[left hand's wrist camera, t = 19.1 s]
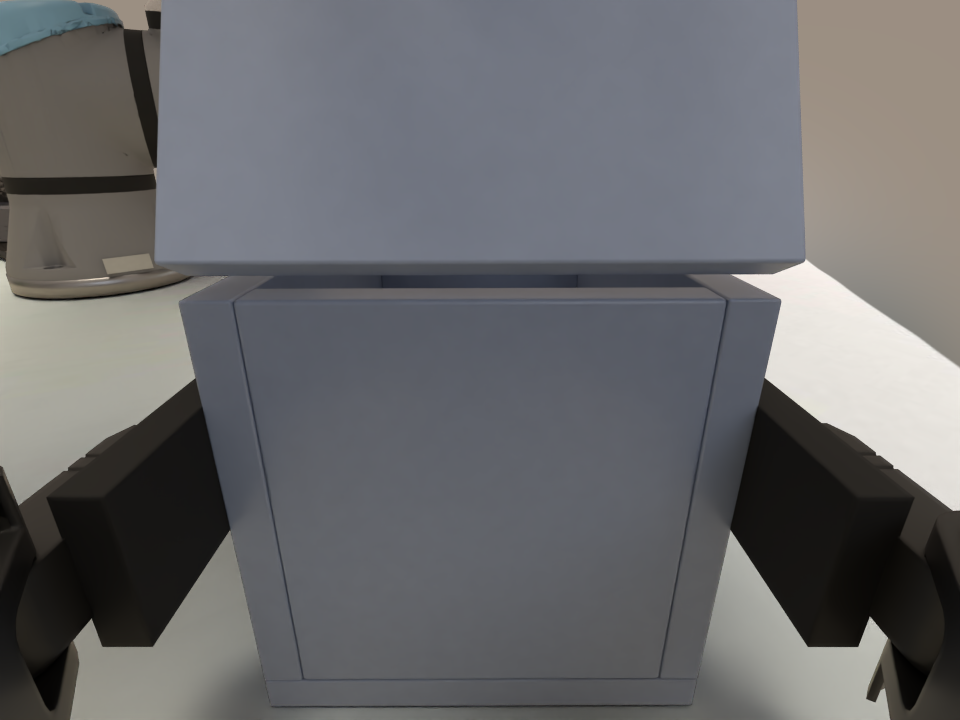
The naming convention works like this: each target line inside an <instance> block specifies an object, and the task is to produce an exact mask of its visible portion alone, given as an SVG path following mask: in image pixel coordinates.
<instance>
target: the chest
mask: <svg viewBox="0 0 960 720" xmlns="http://www.w3.org/2000/svg"><path fill="white" fill-rule="evenodd" d="M780 306H781V299H779V298H777V297H775V296H773V295H771V294H769V293H767V292H765V291H763V290H761V289H759V288H757V287H755V286H753V285H751V284H749V283H746V282H744V281H742V280H740V279H738V278H736V277H734V276H732V275H730V274H667V275H343V276H229V277H227V278H225V279H223V280H221V281H219V282H217V283H215V284H213V285H211V286H209V287H207V288H205V289H203V290H201V291H199V292H197V293H195V294H193V295H191V296H189V297H187V298H185V299H183V300H181V301H179V307H180V312H181V316H182V320H183V325H184V329H185V334H186V338H187V342H188V347H189V351H190V355H191V360H192V364H193V369H194V373H195V377H196V382H197V386H198V390H199V395H200V399H201V403H202V407H203V412H204V416H205V420H206V425H207V429H208V434H209V438H210V443H211V447H212V451H213V456H214V460H215V465H216V469H217V473H218V478H219V482H220V486H221V491H222V495H223V500H224V504H225V508H226V513H227V517H228V521H229V526H230V530H231V535H232V539H233V543H234V548H235V552H236V556H237V561H238V565H239V570H240V574H241V578H242V583H243V587H244V591H245V596H246V600H247V604H248V609H249V613H250V618H251V622H252V626H253V631H254V635H255V639H256V644H257V648H258V653H259V657H260V661H261V666H262V670H263V674H264V679H265V683H266V688H267V692H268V696H269V701H270V705H271V706H490V705H690V704H692V700H693V696H694V691H695V687H696V682H697V677H698V673H699V669H700V664H701V660H702V655H703V651H704V646H705V642H706V637H707V633H708V628H709V624H710V619H711V615H712V610H713V606H714V602H715V597H716V593H717V588H718V584H719V579H720V575H721V570H722V566H723V561H724V557H725V552H726V548H727V543H728V539H729V534H730V527H731V523H732V518H733V514H734V509H735V505H736V500H737V496H738V492H739V487H740V483H741V478H742V474H743V469H744V465H745V460H746V456H747V452H748V447H749V443H750V438H751V434H752V429H753V425H754V420H755V416H756V412H757V407H758V404H759V400H760V395H761V391H762V386H763V382H764V377H765V373H766V368H767V364H768V360H769V355H770V351H771V346H772V342H773V337H774V333H775V328H776V324H777V319H778V315H779V310H780Z"/></svg>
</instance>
